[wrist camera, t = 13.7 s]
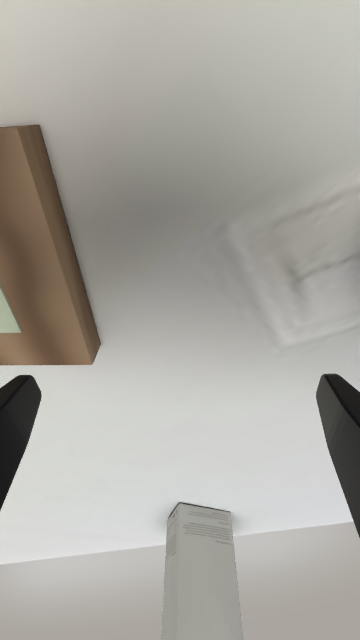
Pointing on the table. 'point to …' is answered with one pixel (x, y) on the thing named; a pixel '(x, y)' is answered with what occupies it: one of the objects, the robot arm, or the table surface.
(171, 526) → the skincare box
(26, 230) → the dock
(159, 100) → the table surface
